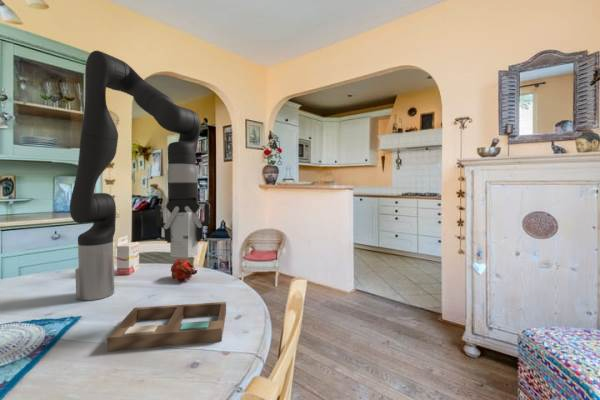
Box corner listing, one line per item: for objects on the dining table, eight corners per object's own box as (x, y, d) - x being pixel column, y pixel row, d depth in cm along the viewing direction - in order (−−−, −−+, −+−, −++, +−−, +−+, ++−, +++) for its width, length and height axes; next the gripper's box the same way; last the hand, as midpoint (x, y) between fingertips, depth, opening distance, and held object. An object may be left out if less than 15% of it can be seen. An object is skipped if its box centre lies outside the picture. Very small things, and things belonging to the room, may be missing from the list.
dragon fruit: (178, 278, 114) (190, 291, 105) (161, 270, 108) (171, 282, 100) (192, 260, 116) (204, 271, 107) (175, 251, 110) (187, 261, 102)
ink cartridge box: (129, 275, 112) (129, 238, 112) (116, 275, 112) (115, 238, 111) (140, 268, 121) (139, 234, 120) (128, 269, 120) (127, 234, 120)
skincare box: (169, 257, 76) (167, 212, 76) (181, 253, 81) (179, 210, 80) (188, 258, 75) (187, 212, 74) (199, 254, 79) (198, 211, 78)
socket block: (107, 351, 61) (107, 335, 61) (134, 318, 76) (134, 306, 76) (221, 340, 66) (221, 326, 66) (226, 312, 81) (226, 300, 80)
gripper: (149, 181, 72) (151, 245, 72) (208, 180, 74) (210, 243, 75) (158, 182, 79) (160, 240, 80) (211, 181, 82) (213, 238, 82)
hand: (184, 241), depth 77 cm, fingers closed on skincare box, 7 cm apart
